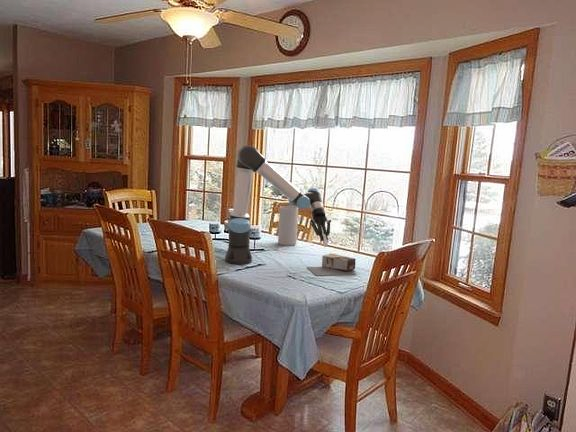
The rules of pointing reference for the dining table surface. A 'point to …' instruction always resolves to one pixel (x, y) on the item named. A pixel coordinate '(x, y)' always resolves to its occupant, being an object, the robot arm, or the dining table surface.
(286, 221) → the cylinder vase
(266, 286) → the dining table surface
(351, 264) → the coffee box
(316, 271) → the mat
